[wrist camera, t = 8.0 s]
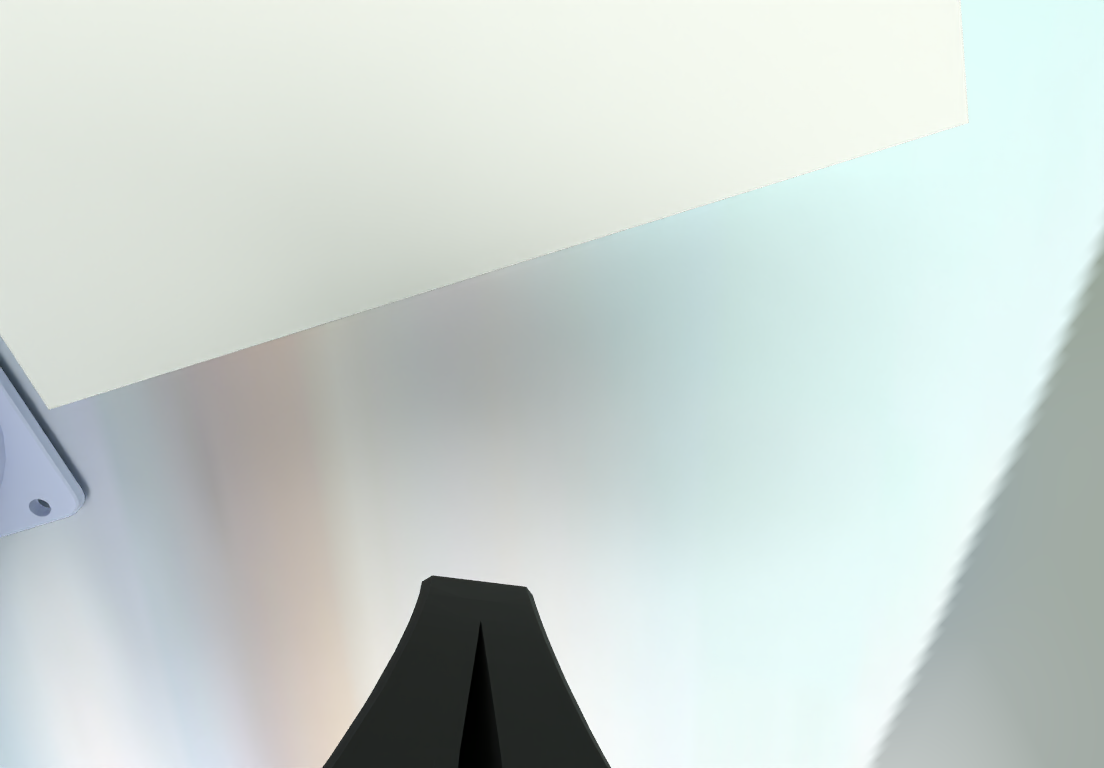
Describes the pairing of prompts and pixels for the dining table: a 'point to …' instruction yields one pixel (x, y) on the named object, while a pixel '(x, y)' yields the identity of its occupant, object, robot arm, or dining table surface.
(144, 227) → the dial base
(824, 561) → the dining table surface
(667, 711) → the dining table surface
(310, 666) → the dining table surface
